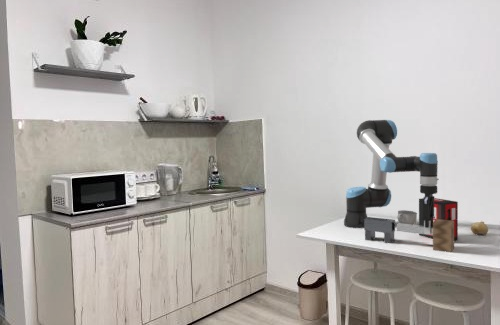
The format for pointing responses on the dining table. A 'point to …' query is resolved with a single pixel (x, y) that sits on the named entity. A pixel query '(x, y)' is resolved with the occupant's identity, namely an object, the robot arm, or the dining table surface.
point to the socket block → (443, 235)
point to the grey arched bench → (379, 228)
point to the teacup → (407, 217)
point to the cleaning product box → (442, 214)
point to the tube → (414, 227)
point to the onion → (479, 228)
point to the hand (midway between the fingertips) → (428, 232)
